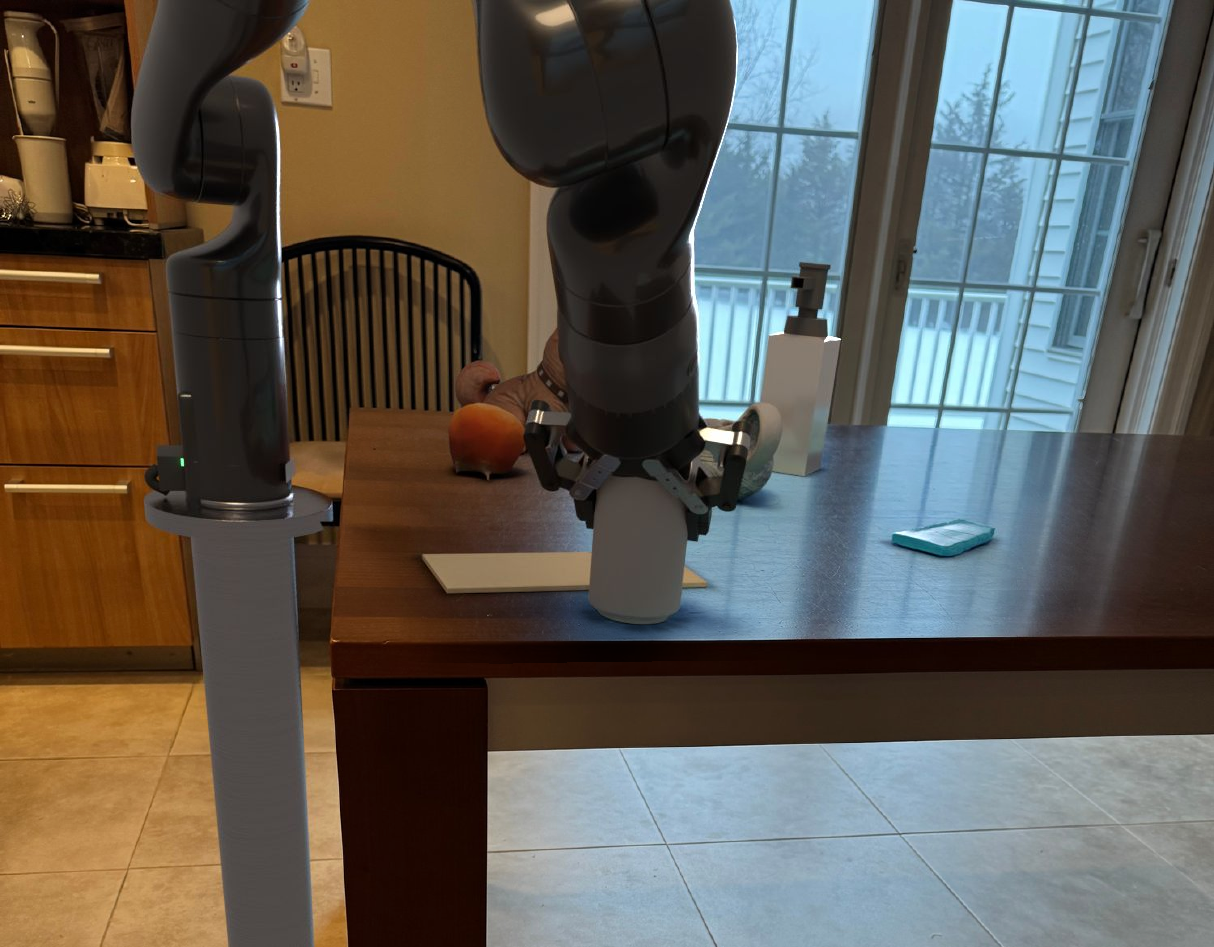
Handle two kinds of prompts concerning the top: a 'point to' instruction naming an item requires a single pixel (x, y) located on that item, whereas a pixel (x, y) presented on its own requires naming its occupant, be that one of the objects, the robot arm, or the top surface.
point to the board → (520, 572)
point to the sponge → (945, 537)
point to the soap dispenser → (802, 376)
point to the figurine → (518, 387)
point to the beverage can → (637, 551)
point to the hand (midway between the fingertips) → (644, 523)
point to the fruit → (485, 439)
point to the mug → (752, 446)
